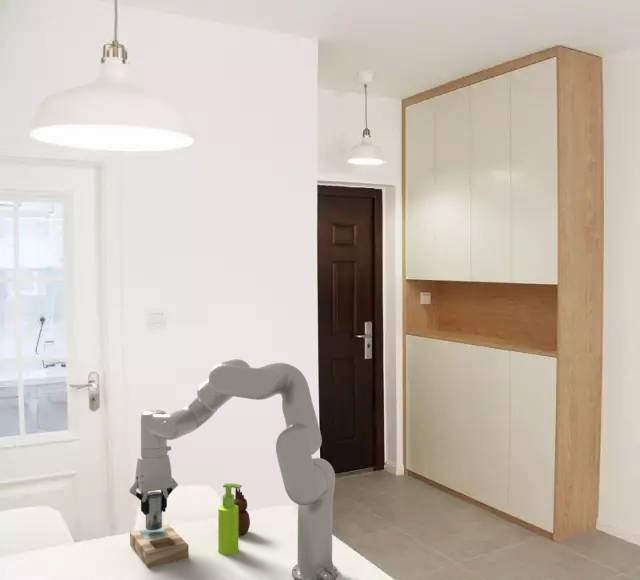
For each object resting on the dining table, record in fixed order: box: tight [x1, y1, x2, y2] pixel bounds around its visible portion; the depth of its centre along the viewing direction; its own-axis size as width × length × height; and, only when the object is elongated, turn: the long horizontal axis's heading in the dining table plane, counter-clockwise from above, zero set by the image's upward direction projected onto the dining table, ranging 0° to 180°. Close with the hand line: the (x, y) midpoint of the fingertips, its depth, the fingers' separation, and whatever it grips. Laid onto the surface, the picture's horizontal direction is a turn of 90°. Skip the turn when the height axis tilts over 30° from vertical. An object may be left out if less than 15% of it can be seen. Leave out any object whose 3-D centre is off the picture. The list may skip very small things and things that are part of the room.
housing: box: [129, 524, 189, 568], centre depth 204 cm, size 18×12×4 cm, turn 30°
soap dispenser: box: [217, 483, 243, 556], centre depth 204 cm, size 6×7×20 cm
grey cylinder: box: [145, 491, 163, 530], centre depth 207 cm, size 5×5×10 cm
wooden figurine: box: [234, 488, 251, 537], centre depth 218 cm, size 7×6×15 cm
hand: (153, 511), depth 207 cm, fingers closed on grey cylinder, 4 cm apart
